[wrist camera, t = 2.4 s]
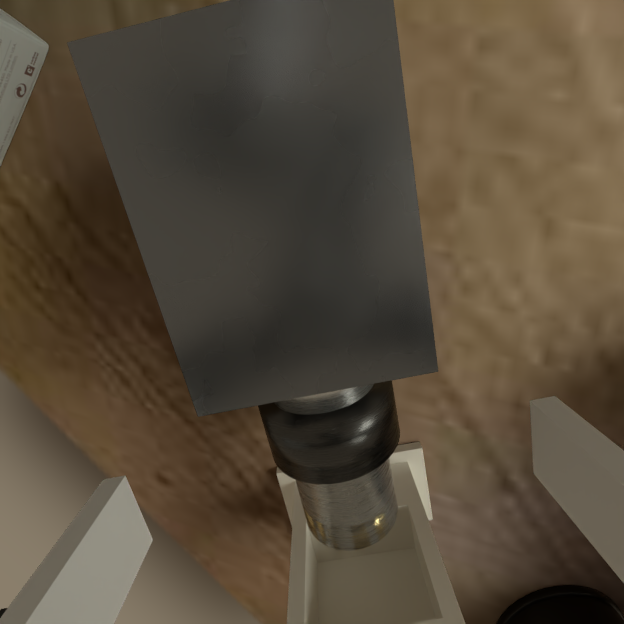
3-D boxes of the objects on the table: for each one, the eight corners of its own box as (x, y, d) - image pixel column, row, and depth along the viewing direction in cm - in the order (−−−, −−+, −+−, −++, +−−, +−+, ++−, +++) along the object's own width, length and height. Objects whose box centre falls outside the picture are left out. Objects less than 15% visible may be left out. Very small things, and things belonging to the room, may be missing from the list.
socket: (277, 466, 23) (253, 653, 14) (419, 441, 23) (496, 618, 13) (296, 533, 25) (287, 742, 16) (429, 512, 25) (505, 714, 15)
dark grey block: (174, 112, 17) (8, 13, 8) (364, 66, 17) (433, -100, 7) (237, 328, 21) (173, 443, 11) (398, 296, 20) (476, 388, 11)
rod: (203, 138, 14) (144, 108, 9) (337, 106, 14) (351, 57, 9) (295, 475, 19) (290, 575, 14) (397, 457, 19) (428, 553, 14)
